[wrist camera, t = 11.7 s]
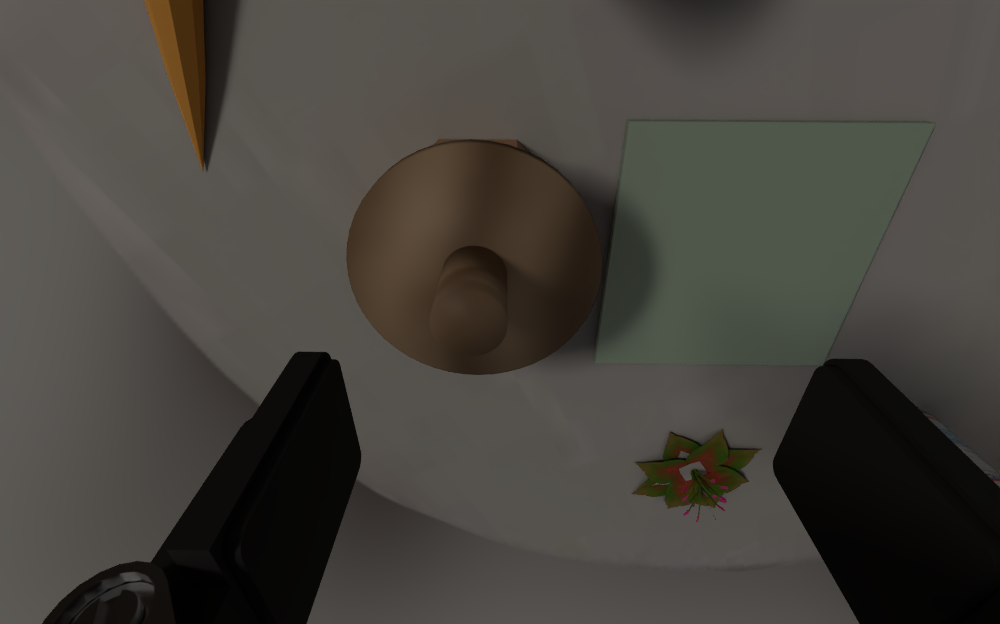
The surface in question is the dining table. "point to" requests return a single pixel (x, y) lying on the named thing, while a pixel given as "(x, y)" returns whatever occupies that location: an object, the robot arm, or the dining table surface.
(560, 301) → the lid
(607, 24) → the dining table surface
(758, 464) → the dining table surface
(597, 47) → the dining table surface
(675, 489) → the lily flower
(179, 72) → the carrot
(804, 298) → the mat
